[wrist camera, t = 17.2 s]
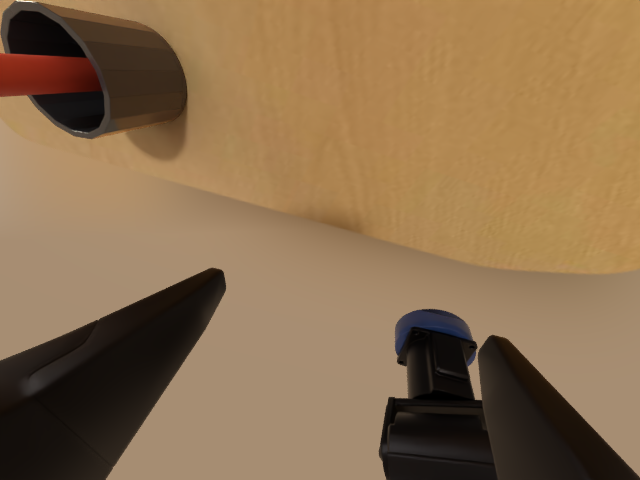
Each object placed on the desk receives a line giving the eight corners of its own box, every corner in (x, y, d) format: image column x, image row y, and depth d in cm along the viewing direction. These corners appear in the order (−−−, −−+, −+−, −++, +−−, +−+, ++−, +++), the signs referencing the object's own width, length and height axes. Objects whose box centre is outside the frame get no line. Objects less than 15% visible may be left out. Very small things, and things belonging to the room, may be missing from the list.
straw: (157, 89, 18) (-7, 100, 11) (137, 86, 18) (-36, 95, 11) (150, 61, 17) (-33, 52, 10) (130, 59, 17) (-64, 48, 10)
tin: (194, 127, 19) (125, 145, 14) (127, 117, 20) (41, 131, 15) (175, 25, 16) (78, 4, 11) (97, 19, 17) (-25, -3, 12)
